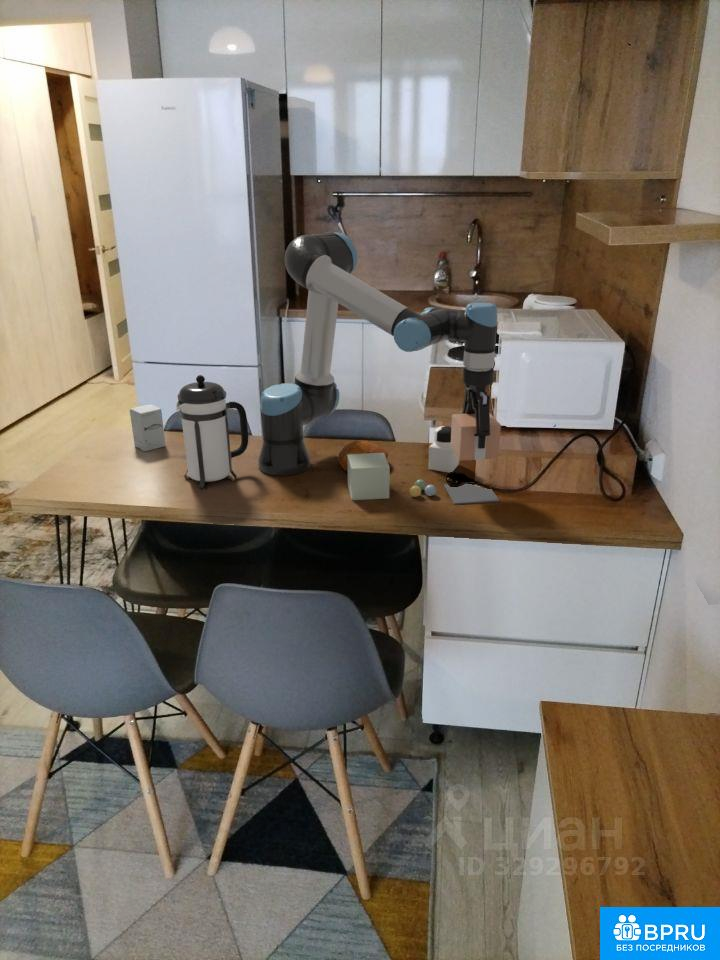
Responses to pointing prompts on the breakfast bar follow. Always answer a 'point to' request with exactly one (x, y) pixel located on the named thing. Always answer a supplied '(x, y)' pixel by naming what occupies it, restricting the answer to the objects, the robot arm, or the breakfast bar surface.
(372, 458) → the pale mint cube
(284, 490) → the breakfast bar surface
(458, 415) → the peach wooden cube
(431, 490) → the marble blue
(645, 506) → the breakfast bar surface
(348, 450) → the croissant
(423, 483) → the marble green
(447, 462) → the medicine bottle
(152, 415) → the supplement box
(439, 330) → the robot arm
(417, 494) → the marble amber
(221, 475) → the coffee press
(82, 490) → the breakfast bar surface
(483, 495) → the coaster
